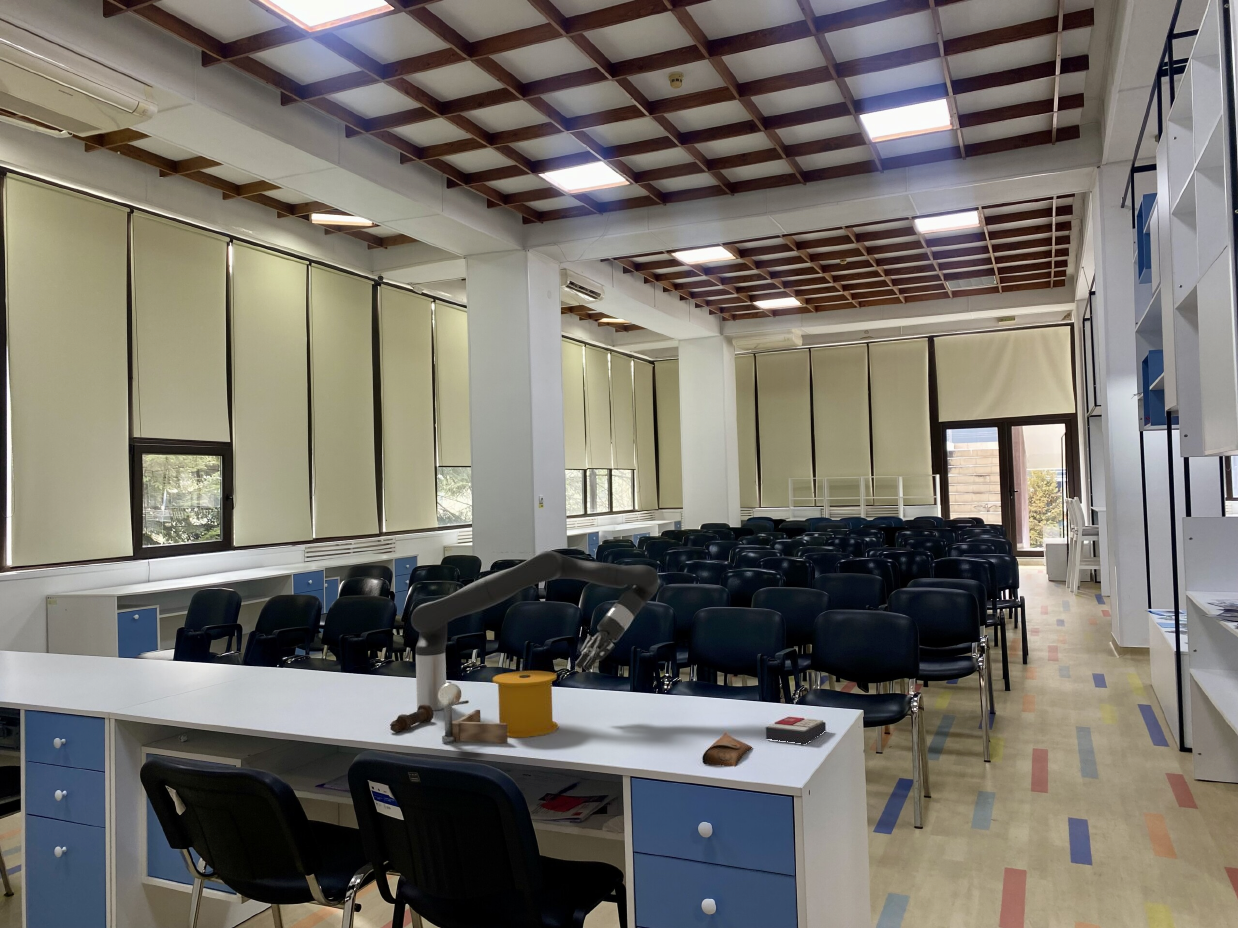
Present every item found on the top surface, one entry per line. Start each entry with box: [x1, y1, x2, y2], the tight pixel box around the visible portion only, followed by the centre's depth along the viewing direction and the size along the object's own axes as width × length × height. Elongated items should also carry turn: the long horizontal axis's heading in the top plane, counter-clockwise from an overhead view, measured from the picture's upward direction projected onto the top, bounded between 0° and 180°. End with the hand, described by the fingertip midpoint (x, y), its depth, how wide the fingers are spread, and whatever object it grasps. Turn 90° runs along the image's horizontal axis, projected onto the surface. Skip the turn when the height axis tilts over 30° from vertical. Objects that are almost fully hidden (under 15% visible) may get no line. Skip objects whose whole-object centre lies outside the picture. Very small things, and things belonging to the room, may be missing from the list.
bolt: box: [389, 705, 435, 733], centre depth 260 cm, size 6×5×15 cm
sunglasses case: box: [701, 732, 753, 768], centre depth 220 cm, size 18×7×7 cm
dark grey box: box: [765, 716, 827, 744], centre depth 236 cm, size 11×4×15 cm
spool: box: [492, 670, 559, 738], centre depth 253 cm, size 18×18×15 cm
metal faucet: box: [438, 681, 470, 744], centre depth 242 cm, size 9×4×16 cm, turn 120°
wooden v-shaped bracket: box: [452, 709, 509, 744], centre depth 245 cm, size 12×22×5 cm, turn 30°
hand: (581, 667), depth 262 cm, fingers open, 4 cm apart
